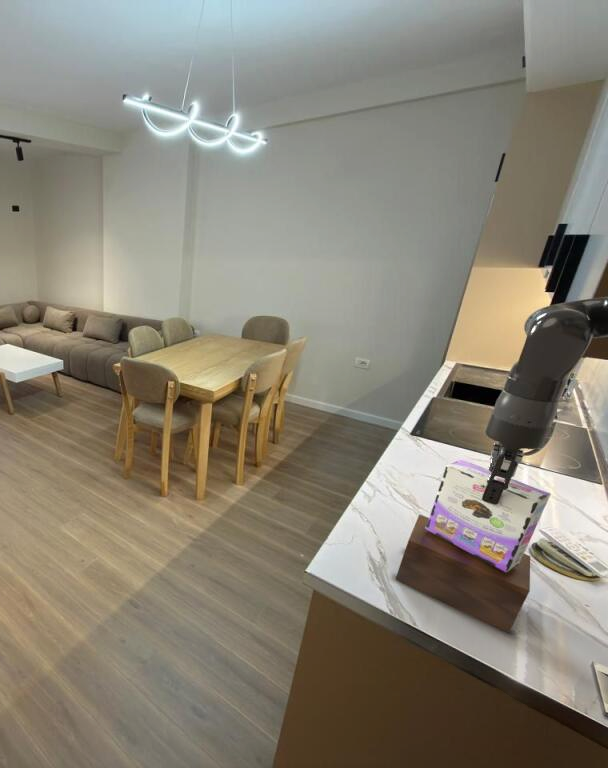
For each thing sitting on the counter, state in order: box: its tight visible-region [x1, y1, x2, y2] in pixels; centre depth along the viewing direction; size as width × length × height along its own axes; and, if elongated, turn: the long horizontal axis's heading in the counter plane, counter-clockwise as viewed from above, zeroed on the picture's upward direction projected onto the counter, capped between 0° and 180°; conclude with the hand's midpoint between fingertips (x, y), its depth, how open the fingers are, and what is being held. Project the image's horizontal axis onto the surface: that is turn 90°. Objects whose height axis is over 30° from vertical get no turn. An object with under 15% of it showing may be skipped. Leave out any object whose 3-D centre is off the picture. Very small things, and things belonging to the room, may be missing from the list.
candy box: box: [425, 459, 551, 573], centre depth 78 cm, size 14×6×16 cm, turn 25°
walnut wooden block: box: [395, 513, 531, 635], centre depth 84 cm, size 18×12×11 cm, turn 44°
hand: (490, 493), depth 77 cm, fingers closed on candy box, 7 cm apart
